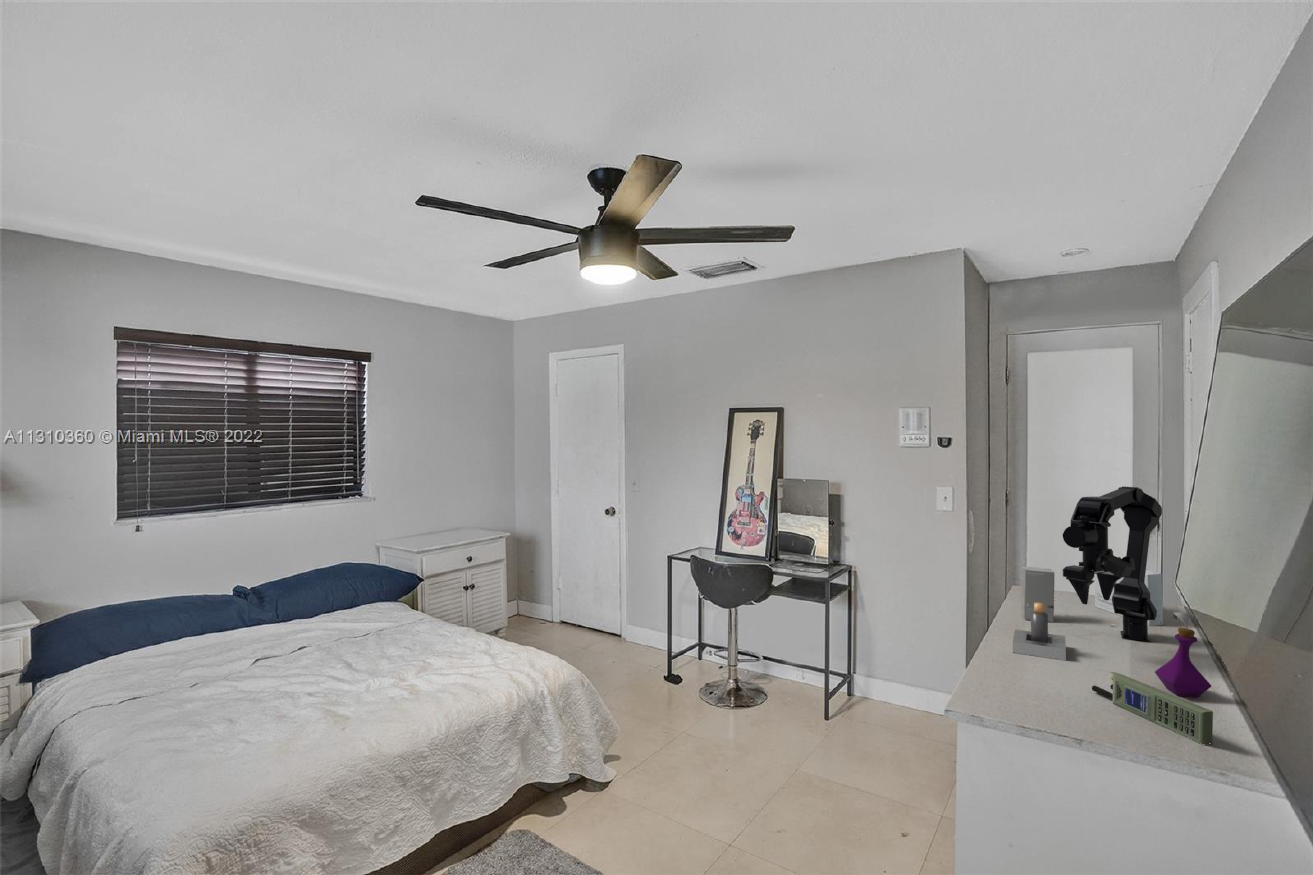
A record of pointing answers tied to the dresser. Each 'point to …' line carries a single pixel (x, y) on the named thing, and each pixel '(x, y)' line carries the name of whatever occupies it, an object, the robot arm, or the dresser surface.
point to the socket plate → (1039, 645)
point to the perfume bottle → (1183, 666)
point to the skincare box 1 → (1037, 591)
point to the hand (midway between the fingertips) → (1095, 602)
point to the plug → (1039, 624)
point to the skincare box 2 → (1154, 587)
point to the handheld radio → (1161, 708)
